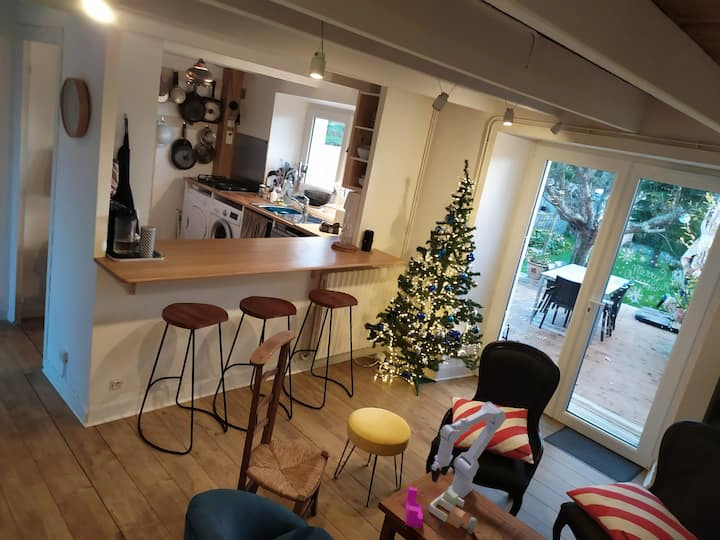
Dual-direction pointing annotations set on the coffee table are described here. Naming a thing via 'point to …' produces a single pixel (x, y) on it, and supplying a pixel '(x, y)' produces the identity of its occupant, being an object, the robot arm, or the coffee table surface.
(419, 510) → the toy block
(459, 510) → the handled block
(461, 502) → the rack
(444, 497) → the green block
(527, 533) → the coffee table surface
